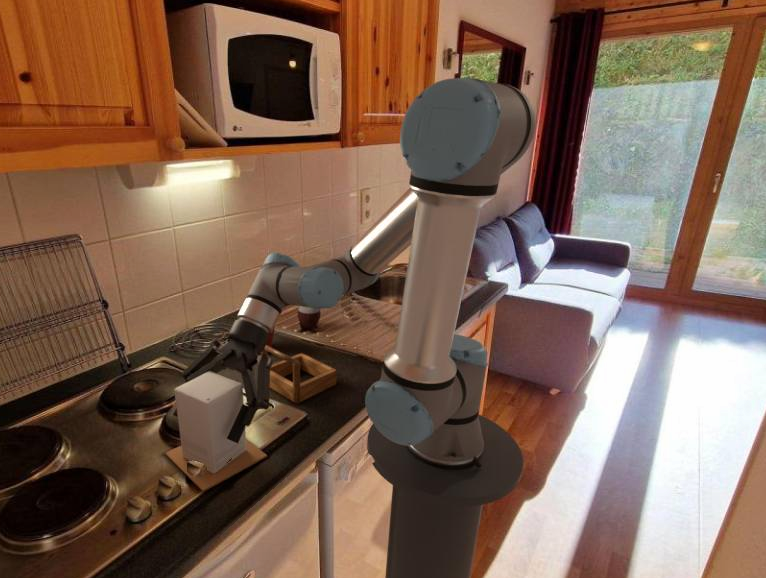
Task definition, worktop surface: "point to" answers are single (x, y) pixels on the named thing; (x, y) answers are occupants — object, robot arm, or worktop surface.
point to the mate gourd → (308, 318)
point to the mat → (230, 469)
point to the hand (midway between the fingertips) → (204, 429)
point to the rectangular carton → (209, 419)
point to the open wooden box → (297, 390)
